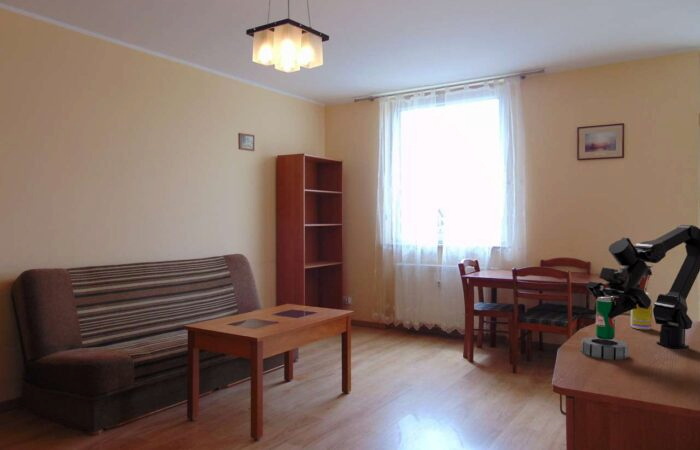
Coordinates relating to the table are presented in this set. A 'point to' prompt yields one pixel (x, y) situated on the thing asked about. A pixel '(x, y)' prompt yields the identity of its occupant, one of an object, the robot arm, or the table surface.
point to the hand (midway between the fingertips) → (602, 315)
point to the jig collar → (604, 348)
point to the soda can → (605, 318)
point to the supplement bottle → (641, 317)
